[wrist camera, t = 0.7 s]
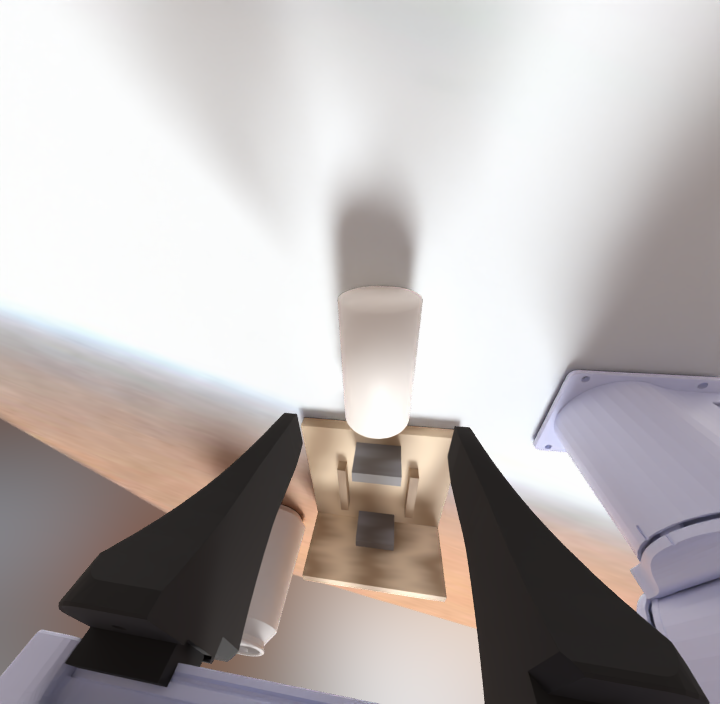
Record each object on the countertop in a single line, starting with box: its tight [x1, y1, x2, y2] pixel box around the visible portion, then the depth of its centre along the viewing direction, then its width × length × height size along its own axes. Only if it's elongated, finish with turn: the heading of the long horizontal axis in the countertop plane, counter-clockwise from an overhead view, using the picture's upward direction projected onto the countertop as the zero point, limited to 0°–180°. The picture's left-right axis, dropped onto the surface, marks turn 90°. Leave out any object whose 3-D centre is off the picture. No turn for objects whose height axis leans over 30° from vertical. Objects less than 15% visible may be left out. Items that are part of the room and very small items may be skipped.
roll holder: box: [301, 417, 454, 602], centre depth 24 cm, size 14×16×7 cm
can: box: [237, 505, 305, 656], centre depth 29 cm, size 8×8×12 cm
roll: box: [338, 286, 423, 439], centre depth 17 cm, size 5×9×5 cm, turn 2°
